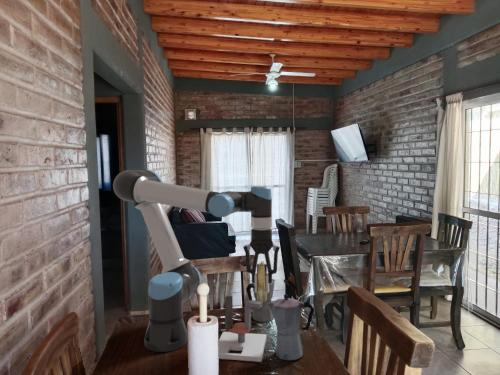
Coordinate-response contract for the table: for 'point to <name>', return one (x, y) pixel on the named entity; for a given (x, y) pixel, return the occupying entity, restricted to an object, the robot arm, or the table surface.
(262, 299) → the hook peg
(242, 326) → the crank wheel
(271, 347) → the table surface
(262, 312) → the coffeepot
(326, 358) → the table surface
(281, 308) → the moka pot
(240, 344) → the base
